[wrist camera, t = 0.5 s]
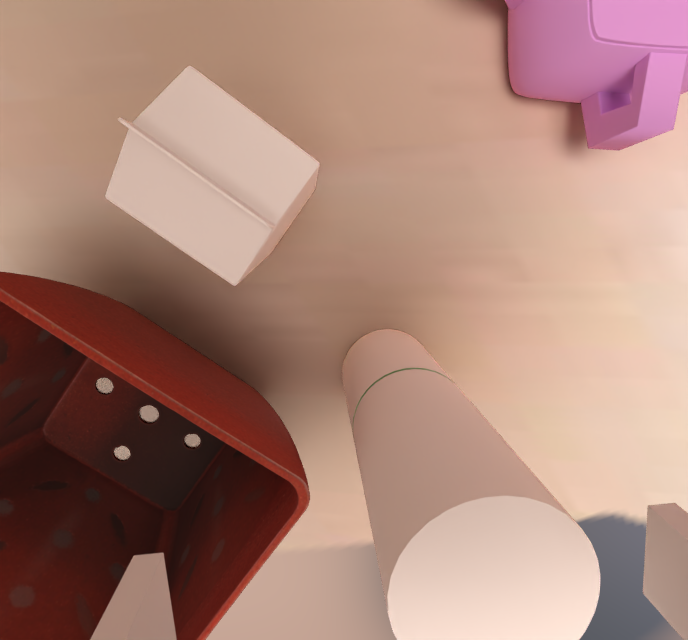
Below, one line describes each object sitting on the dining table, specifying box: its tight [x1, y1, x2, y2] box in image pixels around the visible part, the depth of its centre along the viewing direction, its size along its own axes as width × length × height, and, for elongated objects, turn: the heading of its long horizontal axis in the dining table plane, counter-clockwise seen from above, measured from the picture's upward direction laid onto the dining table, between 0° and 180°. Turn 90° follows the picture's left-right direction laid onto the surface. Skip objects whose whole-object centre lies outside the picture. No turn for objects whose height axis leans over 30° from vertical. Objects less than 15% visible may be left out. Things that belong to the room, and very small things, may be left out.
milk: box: [105, 66, 320, 286], centre depth 28 cm, size 6×6×22 cm
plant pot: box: [0, 272, 310, 640], centre depth 33 cm, size 19×19×17 cm
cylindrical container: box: [342, 329, 600, 640], centre depth 29 cm, size 7×7×25 cm
